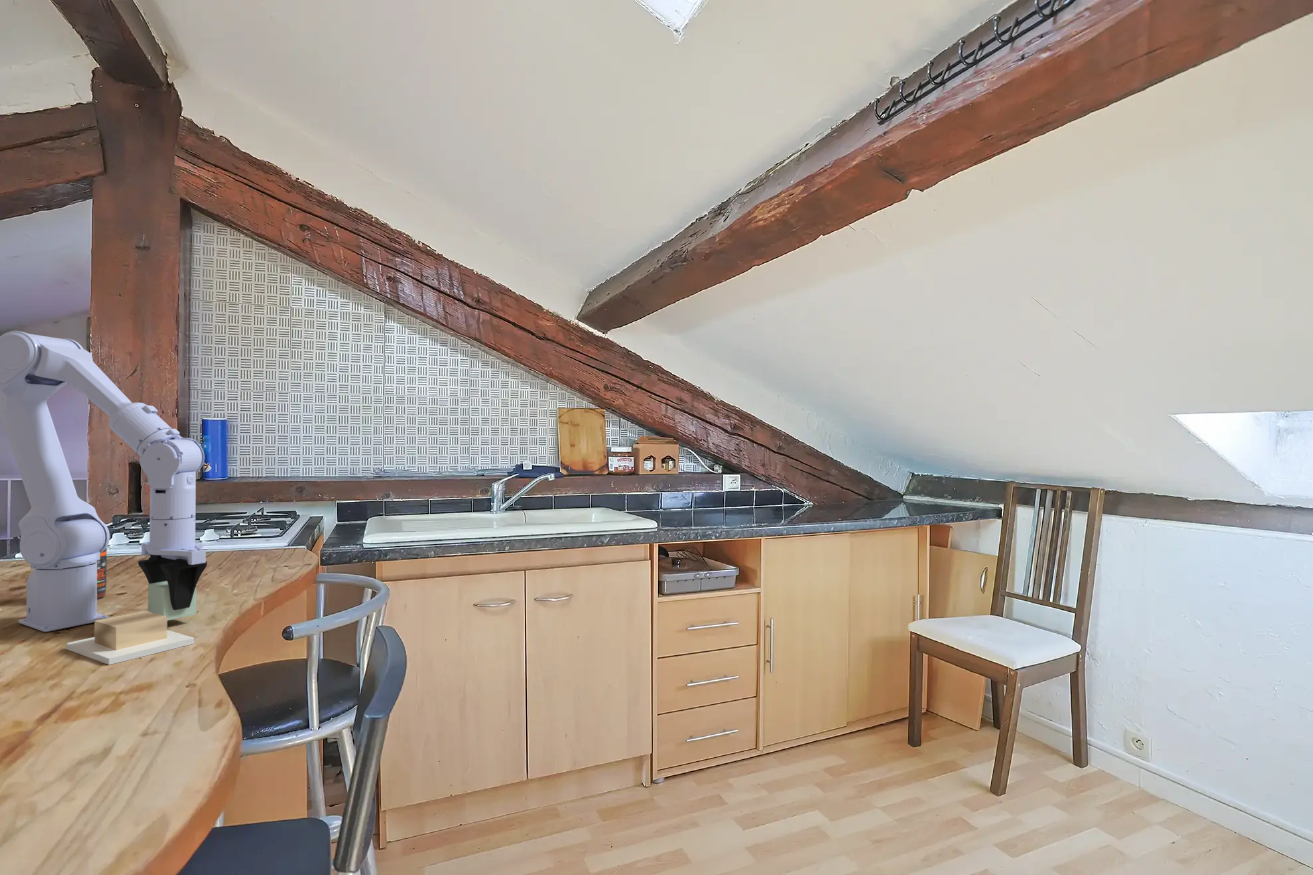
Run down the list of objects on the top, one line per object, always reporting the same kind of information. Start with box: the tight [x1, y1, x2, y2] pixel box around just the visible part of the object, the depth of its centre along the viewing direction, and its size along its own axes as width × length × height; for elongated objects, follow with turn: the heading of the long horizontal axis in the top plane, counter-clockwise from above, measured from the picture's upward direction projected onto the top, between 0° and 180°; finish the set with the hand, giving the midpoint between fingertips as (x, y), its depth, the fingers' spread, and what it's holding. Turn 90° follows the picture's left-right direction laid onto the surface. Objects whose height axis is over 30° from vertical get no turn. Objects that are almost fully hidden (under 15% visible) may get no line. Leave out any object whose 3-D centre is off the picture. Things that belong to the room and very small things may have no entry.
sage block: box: [147, 581, 197, 621], centre depth 104 cm, size 4×4×5 cm
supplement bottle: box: [97, 548, 108, 600], centre depth 118 cm, size 6×6×11 cm
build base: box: [65, 610, 195, 666], centre depth 93 cm, size 12×10×4 cm
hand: (172, 606), depth 104 cm, fingers closed on sage block, 4 cm apart
